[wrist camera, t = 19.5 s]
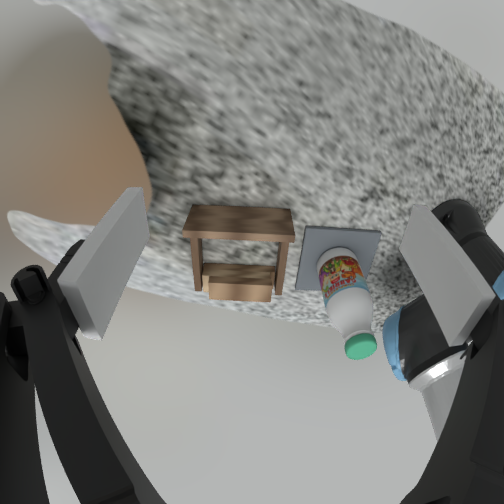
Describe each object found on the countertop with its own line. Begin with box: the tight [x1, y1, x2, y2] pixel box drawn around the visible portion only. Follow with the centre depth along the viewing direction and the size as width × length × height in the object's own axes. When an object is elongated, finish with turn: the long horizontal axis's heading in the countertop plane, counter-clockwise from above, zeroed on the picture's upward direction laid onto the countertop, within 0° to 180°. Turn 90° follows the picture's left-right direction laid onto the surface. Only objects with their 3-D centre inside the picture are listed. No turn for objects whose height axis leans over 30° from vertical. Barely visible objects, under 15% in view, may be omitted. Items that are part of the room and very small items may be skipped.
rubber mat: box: [295, 226, 382, 291], centre depth 55 cm, size 14×14×1 cm
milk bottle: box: [317, 247, 377, 360], centre depth 46 cm, size 8×8×20 cm
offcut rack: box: [182, 205, 295, 302], centre depth 50 cm, size 16×16×8 cm
